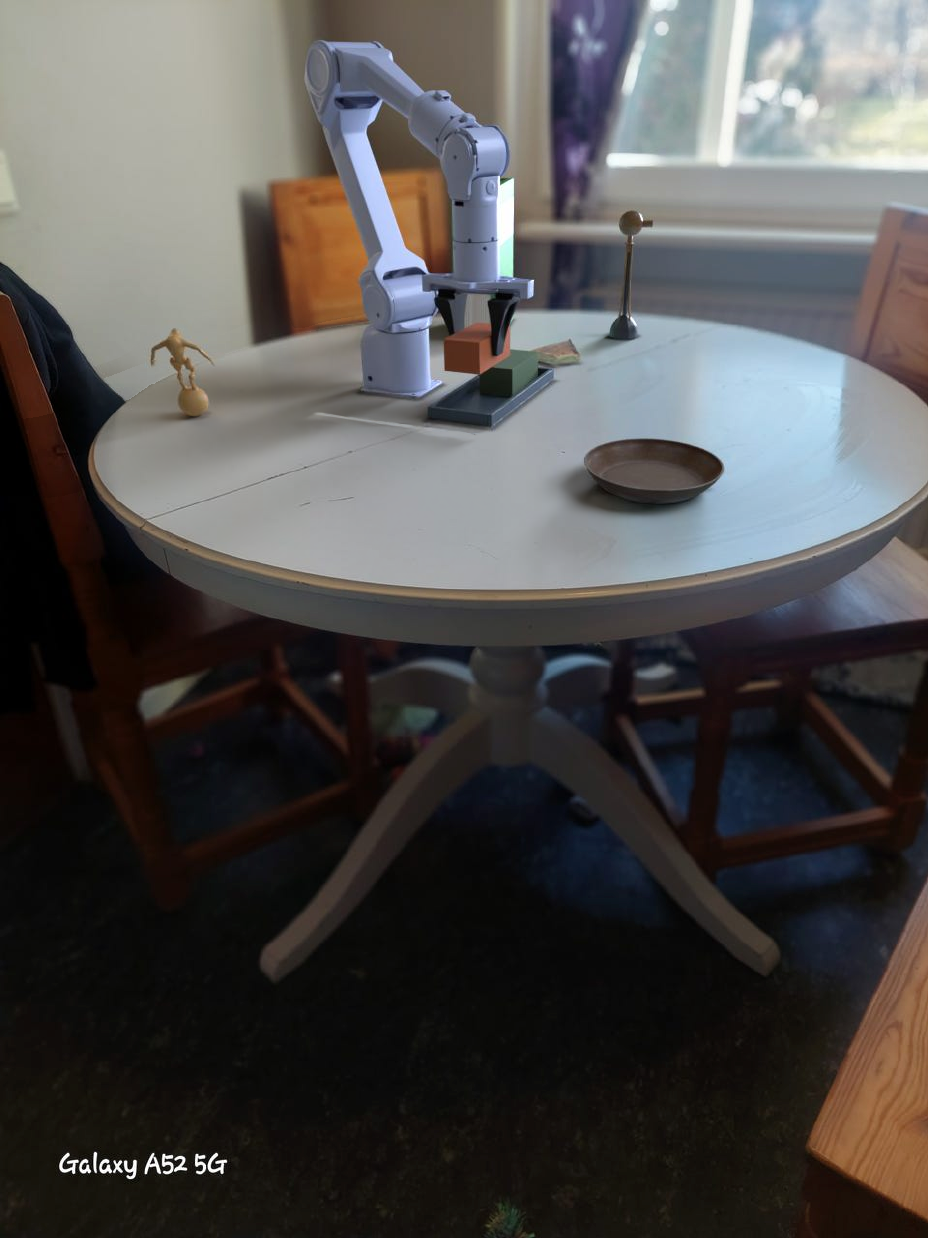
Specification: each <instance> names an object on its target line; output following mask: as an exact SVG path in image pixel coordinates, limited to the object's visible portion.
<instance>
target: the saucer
mask: <svg viewBox="0 0 928 1238" xmlns="http://www.w3.org/2000/svg"><path fill="white" fill-rule="evenodd" d="M583 464H584V466H585V468H586V470H587V472H588V473H589V475H590V476H591V477H592V478H593V480H594V481H595V482H596V483H597V484H598V485H599V486H601V487H602V488H603V489H604V490H606V491H607V492H608V493H610V494H611V495H613V496H616V497H618V498H621V499H623V500H626V501H631V502H636V503H641V504H642V503H643V504H652V505H653V504H654V505H662V504H663V505H665V504H675V503H680V502H685V501H689V500H691V499H693V498H696V497H698V496H699V495H700V494H701V495H702V493H704V492H706V491H707V490H709V489H710V488H711V487H712V486H714V485H715V484H716V482H718V481H719V480H720V478H721V477H722V476H723V474H724V473H725V470H726V469H725V464H724V462H723V461H722V459H720V458H719V457H718V456H717V455H715V454H714V453H713V452H711V451H709V450H707V449H705V448H702V447H699V446H697V445H694V444H690V443H687V442H682V441H677V440H670V439H664V438H650V437H649V438H648V437H647V438H646V437H644V438H642V437H641V438H640V437H639V438H625V439H617V440H613V441H612V440H611V441H608V442H605V443H602V444H599V445H597V446H595V447H593V448H591V449H590V450H588V451H587V452H586V453H585V455H584V458H583Z"/></svg>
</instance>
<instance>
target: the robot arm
mask: <svg viewBox="0 0 928 1238" xmlns="http://www.w3.org/2000/svg"><path fill="white" fill-rule="evenodd" d="M304 68H305V69H304V76H303V82H304V83H305V86H306V90H307V92H308V95H309V97H310V100H311V104H312V106H313V109H314V111H315V114H316V115H315V116H316V118H317V120H318V122H319V123H318V124H320V125H321V126H322V127H321V128H322V131H323V134H324V137H325V141H326V143H327V146H328V148H329V152H330V155H331V157H332V158H331V159H332V161H333V163H334V166H335V169H336V172H337V175H338V178H339V180H340V183H341V186H342V189H343V192H344V194H345V198H346V200H347V201H346V202H348V205H349V209H350V212H351V215H352V217H353V220H354V223H355V226H356V229H357V231H358V232H357V233H358V235H359V238H360V240H361V244H362V245H363V249H364V251H365V255H366V257H367V260H368V262H367V264H366V265H365V267H364V269H363V270H362V272H361V273H360V275H359V278H358V280H357V282H358V285H359V288H360V291H361V299H362V309H363V313H364V315H365V317H366V319H367V321H368V322H369V323H370V325H368V326H366V327H365V329H364V330H363V332H362V335H361V338H360V360H361V372H362V382H363V383H362V386H363V387H361V388H360V391H361V392H366V393H373V394H374V393H375V394H382V395H390V396H399V397H406V398H407V397H408V398H414V399H415V398H420V397H422V396H424V395H426V394H427V393H428V392H430V391H432V390H434V389H435V388H437V387H438V386H440V385H441V384H442V383H443V381H442V380H437V379H431V357H430V356H431V355H430V353H431V352H430V332H429V331H430V329H429V326H432V325H433V318H434V317H435V316H436V315H437V313H438V312H439V314H440V316H441V317H442V320H443V322H444V324H445V328H446V330H447V332H448V337H449V336H451V335H453V334H455V333H457V332H459V331H460V330H462V329H464V328H465V326H464V320H465V308H466V300H467V294H482V295H495V298H493V299H490V300H488V301H487V305H488V309H489V314H490V321H491V347H492V356H498V355H500V354H502V353H503V348H504V343H505V338H506V335H507V331H508V328H509V325H510V326H511V323H512V321H513V320H512V317H513V318H514V315H515V313H516V310H517V308H518V307H519V304H520V302H521V299H522V300H528V299H530V298H532V297H533V296H534V284H535V283H534V281H535V280H534V279H529V278H528V279H527V278H519V277H514V276H513V277H507V276H501V275H500V178H503V177H504V176H505V175H506V173H507V171H508V169H509V165H510V162H511V148H510V144H509V140H508V138H507V136H506V134H505V133H504V132H503V131H502V130H501V128H500V127H499V126H498V125H496V124H486V125H481V124H479V123H478V122H477V121H476V117H475V116H474V115H473V114H472V113H470V112H465V111H464V110H463V109H462V108H460V107H459V106H458V105H456V104H455V103H454V102H453V101H451V99H452V95H451V94H450V93H449V92H448V91H447V90H445V89H439V90H438V89H437V90H433V89H432V90H428V91H424V90H423V89H422V88H421V87H420V86H419V85H418V84H417V83H416V82H415V81H414V80H413V79H412V78H411V77H410V76H409V75H408V74H407V73H406V72H405V71H403V69H401V67H400V66H399V65H397V63H396V62H395V61H394V57H393V53H392V51H391V50H390V49H387V48H385V46H383V44H382V43H380V42H379V41H375V40H371V41H366V42H363V41H362V42H361V41H358V42H357V41H326V40H323V39H317V40H315V41H313V42H312V43H311V45H310V46H309V49H308V50H307V54H306V58H305V67H304ZM383 102H384V103H385V104H387V105H388V106H389V107H390V108H392V109H394V110H395V111H396V112H398V113H399V114H400V115H402V116H403V117H404V118H406V119H407V123H408V124H407V125H408V130H409V132H410V135H411V136H412V137H413V138H414V139H416V140H417V141H418V142H419V143H420V144H421V145H422V146H424V147H425V148H426V149H427V150H428V151H430V153H431V154H433V156H435V157H436V158H438V160H439V164H440V168H441V171H442V174H443V175H444V178H445V180H446V186H447V194H448V196H449V199H450V200H451V199H452V220H453V261H454V274H453V273H430V272H429V270H428V267H427V266H426V262H425V260H424V259H422V257H419V256H418V255H417V254H415V253H413V252H412V251H410V250H409V249H407V248H406V245H405V243H404V239H403V236H402V233H401V231H400V228H399V225H398V222H397V219H396V215H395V213H394V210H393V207H392V205H391V202H390V199H389V196H388V193H387V190H386V187H385V184H384V180H383V178H382V176H381V173H380V170H379V167H378V164H377V161H376V157H375V155H374V153H373V150H372V149H373V148H372V147H371V143H370V141H369V138H368V135H367V129H368V126H370V125H371V124H372V123H373V122H374V121H375V120H376V118H377V115H378V112H379V111H380V108H381V106H382V103H383ZM484 289H488V290H484ZM511 320H512V321H511ZM510 322H511V323H510Z"/></svg>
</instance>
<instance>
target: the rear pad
mask: <svg viewBox="0 0 928 1238" xmlns="http://www.w3.org/2000/svg"><path fill="white" fill-rule="evenodd" d="M538 367H539V361H538V352H534V351H531V350H522V349H514V348H513V349H511V348H510V356H508V357H507V358H505V359H504V360H502V361H501V362H499V363H497V364H496V365H494V366H493V367H491V368H489V369H488V370H486V371H485V372H483V373H482V374H480V394H483V395H492V396H500V397H509V398H511V397H512V396H513V395H515V394H516V393H517V392H519V391H520V390H521V389H523V388H524V387H526V386H527V385H528V384H530V383H531V382H532V381H534V380H535V379H536V378H538Z"/></svg>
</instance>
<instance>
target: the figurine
mask: <svg viewBox="0 0 928 1238" xmlns="http://www.w3.org/2000/svg"><path fill="white" fill-rule="evenodd" d="M163 348H166V349H167V350H168V352H169V354H170V355H171V356H172V357H170V358H169V362H170V365H171V366H172V367H173V369H174V371H176V372H177V374H176V379H177V380H178V383H179V385H180V388H181V390H180V391H179V394H178V396H177V404H178V408H179V409H180V410H181V412H183V413H184V414H185V415H187V416H190V417H199V416H201V415H203V414H204V413H206V411H207V410H208V407H209V402H210V401H209V397H208V394H207V393H206V391H204V389H202V388H201V387H198V385H197V384H195V383H194V379H195V372H196V371H195V370H196V367H195V366H194V364H193V363H192V359H191V358H190V357H189V356H187V357H186V358H185V350H186V348H188V349H191V350H195V351H198V353H199V354H200V355H202V356H203V358H205V359H207V360H208V361H209V362H210V363H211V365H212V366H213V367H214V366H215V364H214V362H213V360H212V358H211V357H210V356H209V355H208V354H207V353H206V352H205V351H203V349H202V348H201V347H199V346H198V345H196V344H194V343H192V342H190V341H187V340H185V339H183V337H181V335H180V331H179V330H178V329H177V328H172V329H171V331H170V334H169V335H168V336H167V338H165V339H163V340H162V341H160V342H159V343H157V344H156V345H155V344H154V346H152V348H151V349H150V352H151V354H150V366H151V367H154V366H156V363H155V362H157V361H156V360H155V358H156V351H158V350H160V349H163ZM183 366H184V368H185V370H187V371H189V372H190V373H189V375H188V379H189V384H190V385H189V386H188V385H186V384H185V383H184V381H183V374H182V368H183Z"/></svg>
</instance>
